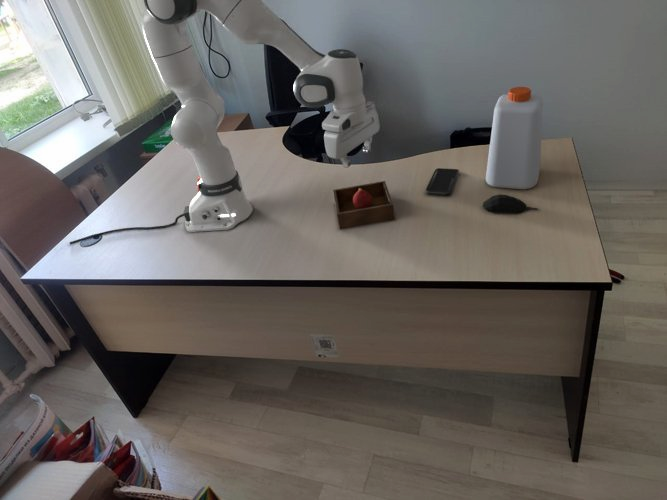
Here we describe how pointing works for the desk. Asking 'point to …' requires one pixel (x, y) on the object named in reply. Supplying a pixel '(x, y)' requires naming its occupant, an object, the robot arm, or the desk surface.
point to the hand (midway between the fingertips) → (357, 159)
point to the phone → (442, 182)
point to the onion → (362, 199)
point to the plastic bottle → (515, 140)
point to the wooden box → (358, 217)
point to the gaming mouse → (505, 204)
